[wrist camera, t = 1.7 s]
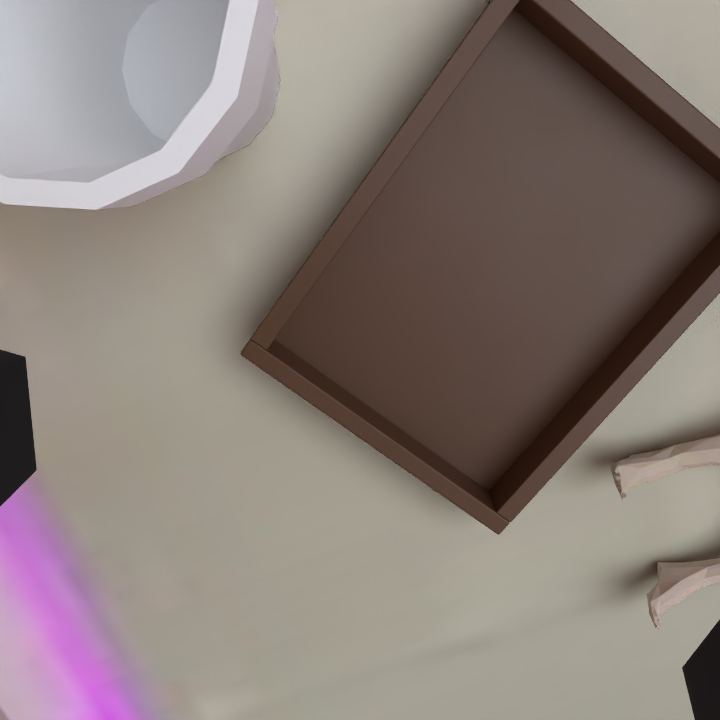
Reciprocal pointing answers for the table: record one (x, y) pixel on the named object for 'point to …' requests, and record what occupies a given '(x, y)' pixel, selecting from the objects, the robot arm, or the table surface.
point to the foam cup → (128, 95)
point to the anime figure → (652, 466)
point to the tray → (507, 260)
